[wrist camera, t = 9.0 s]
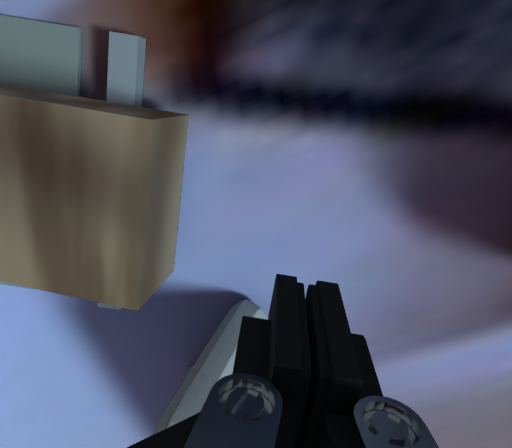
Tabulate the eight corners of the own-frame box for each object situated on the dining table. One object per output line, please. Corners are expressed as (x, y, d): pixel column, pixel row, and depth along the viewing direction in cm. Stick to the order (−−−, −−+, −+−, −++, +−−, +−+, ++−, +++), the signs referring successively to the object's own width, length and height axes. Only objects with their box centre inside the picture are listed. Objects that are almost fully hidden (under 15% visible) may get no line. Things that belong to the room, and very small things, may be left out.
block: (151, 119, 18) (-112, 75, 19) (137, 311, 20) (-91, 260, 22) (188, 114, 22) (-24, 79, 24) (173, 270, 25) (-17, 231, 27)
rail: (146, 39, 23) (138, 35, 22) (128, 299, 28) (121, 310, 27) (118, 34, 23) (109, 31, 22) (105, 295, 28) (97, 307, 27)
